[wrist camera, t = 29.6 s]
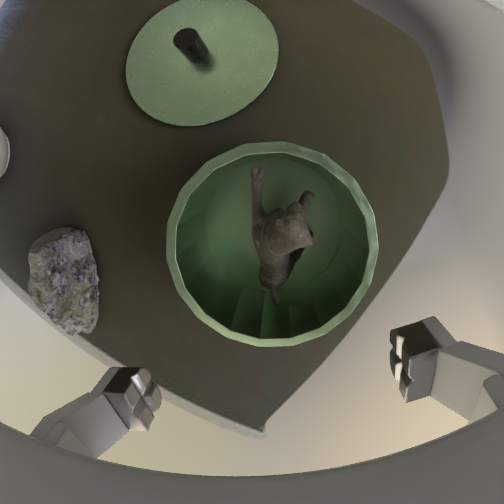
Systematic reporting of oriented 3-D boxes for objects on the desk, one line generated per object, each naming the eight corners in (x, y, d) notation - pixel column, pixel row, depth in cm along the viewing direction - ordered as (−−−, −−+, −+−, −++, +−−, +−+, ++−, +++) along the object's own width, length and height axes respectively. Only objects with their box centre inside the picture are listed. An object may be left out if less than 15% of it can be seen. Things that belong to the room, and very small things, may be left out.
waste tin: (331, 135, 26) (355, 121, 17) (357, 281, 30) (384, 325, 21) (182, 171, 29) (141, 175, 20) (221, 308, 33) (202, 358, 24)
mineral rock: (99, 328, 36) (61, 369, 26) (46, 288, 35) (3, 317, 25) (123, 253, 32) (74, 286, 22) (62, 212, 31) (7, 230, 22)
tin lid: (256, -16, 21) (252, -40, 17) (297, 104, 26) (301, 91, 21) (122, 29, 24) (101, 14, 19) (144, 148, 28) (120, 146, 23)
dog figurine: (310, 242, 30) (305, 312, 27) (255, 236, 30) (244, 304, 27) (331, 161, 19) (331, 255, 16) (249, 152, 20) (229, 243, 16)
